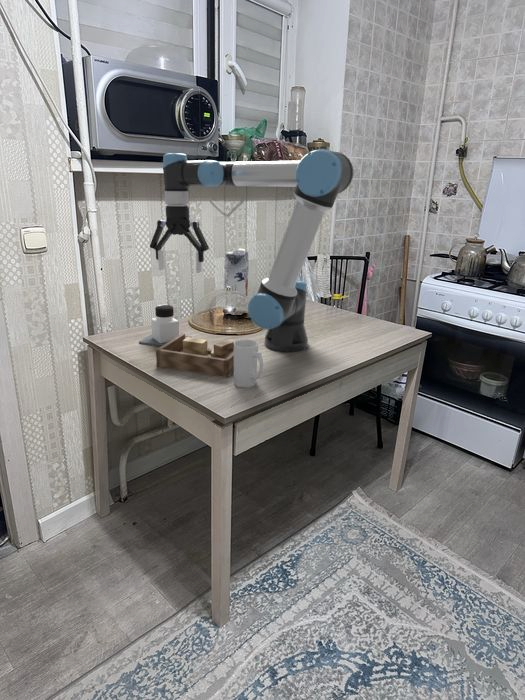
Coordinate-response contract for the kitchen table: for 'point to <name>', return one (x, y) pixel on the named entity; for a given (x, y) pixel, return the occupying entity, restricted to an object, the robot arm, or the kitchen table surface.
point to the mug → (246, 363)
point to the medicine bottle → (164, 324)
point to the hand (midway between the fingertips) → (180, 270)
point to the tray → (192, 359)
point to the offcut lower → (219, 355)
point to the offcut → (195, 346)
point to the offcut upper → (223, 347)
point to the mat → (153, 341)
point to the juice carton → (236, 271)
